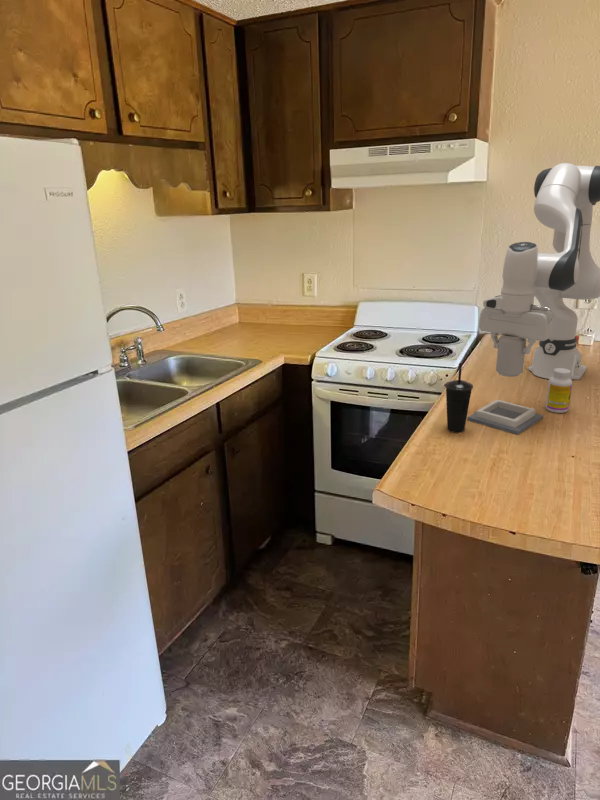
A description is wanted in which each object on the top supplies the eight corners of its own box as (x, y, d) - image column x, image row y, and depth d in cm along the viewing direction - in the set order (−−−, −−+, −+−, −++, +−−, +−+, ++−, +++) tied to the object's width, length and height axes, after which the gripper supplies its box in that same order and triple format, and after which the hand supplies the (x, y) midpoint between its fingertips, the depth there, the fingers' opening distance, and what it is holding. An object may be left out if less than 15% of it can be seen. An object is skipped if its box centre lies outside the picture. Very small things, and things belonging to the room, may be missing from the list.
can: (524, 378, 163) (529, 337, 158) (496, 377, 164) (500, 336, 160) (520, 370, 169) (525, 330, 165) (494, 369, 171) (498, 330, 167)
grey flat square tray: (493, 405, 182) (494, 396, 181) (542, 418, 172) (544, 409, 170) (467, 420, 172) (467, 410, 171) (517, 434, 161) (519, 425, 160)
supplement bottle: (570, 414, 174) (576, 374, 169) (547, 413, 175) (552, 373, 171) (565, 406, 180) (571, 367, 175) (543, 405, 181) (548, 366, 177)
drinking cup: (470, 425, 168) (475, 360, 161) (468, 435, 162) (474, 368, 155) (443, 422, 171) (447, 358, 164) (441, 432, 164) (445, 366, 157)
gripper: (558, 305, 154) (552, 354, 159) (489, 297, 168) (485, 342, 173) (548, 309, 150) (542, 359, 155) (478, 300, 164) (474, 346, 169)
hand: (511, 350), depth 164 cm, fingers closed on can, 7 cm apart
